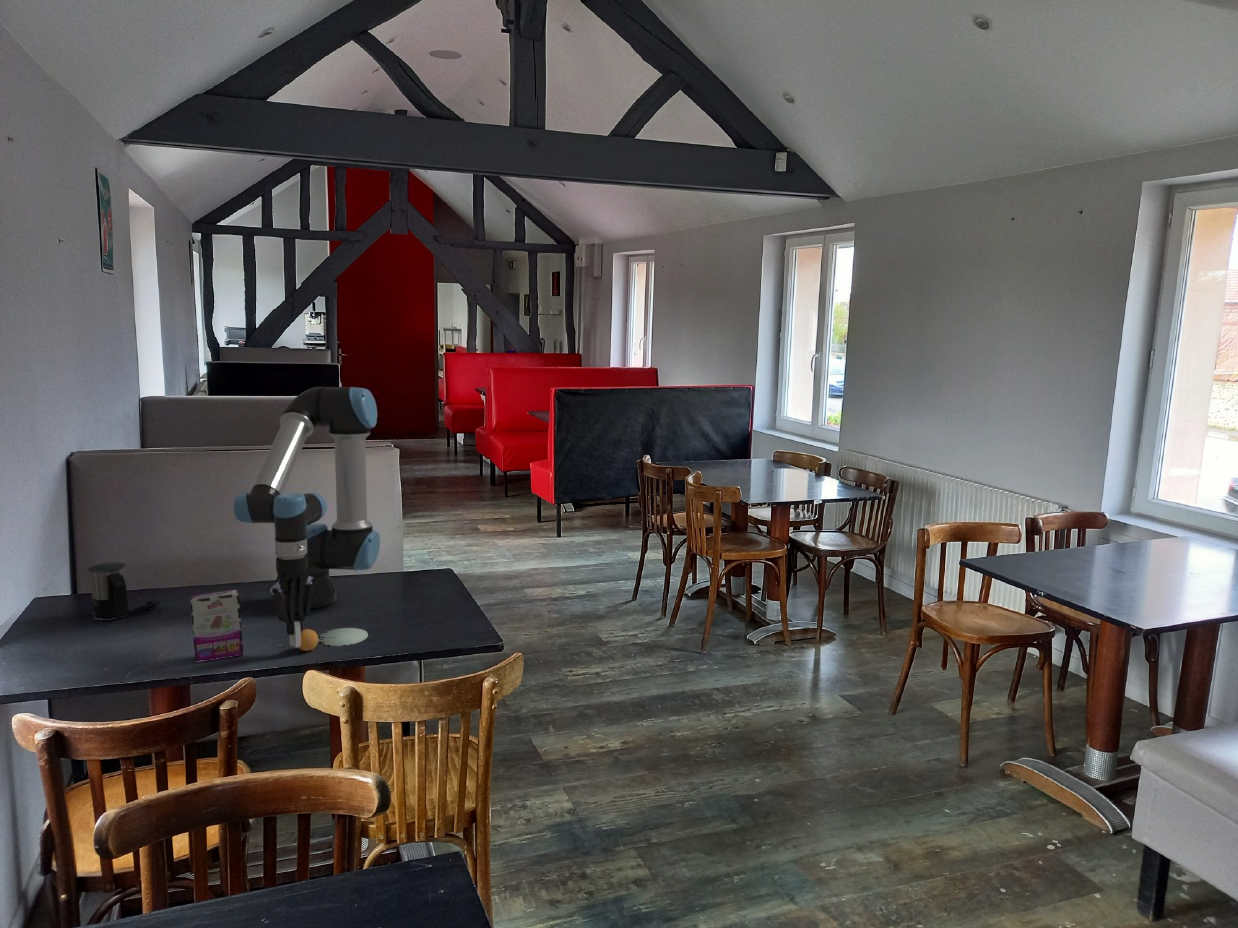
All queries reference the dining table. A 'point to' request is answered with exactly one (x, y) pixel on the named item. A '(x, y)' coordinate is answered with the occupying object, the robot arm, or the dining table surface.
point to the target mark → (343, 636)
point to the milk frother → (111, 591)
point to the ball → (308, 640)
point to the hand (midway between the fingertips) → (295, 645)
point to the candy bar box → (216, 625)
